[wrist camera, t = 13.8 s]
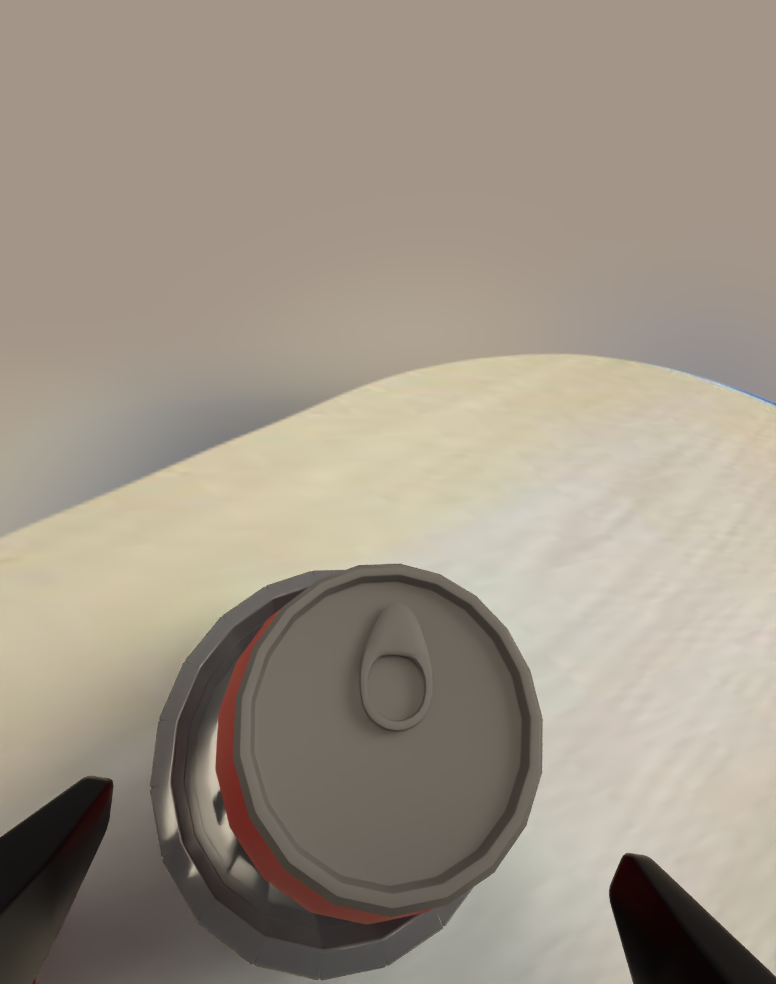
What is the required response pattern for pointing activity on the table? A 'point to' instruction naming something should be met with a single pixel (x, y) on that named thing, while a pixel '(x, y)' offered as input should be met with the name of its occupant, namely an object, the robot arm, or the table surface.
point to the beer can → (379, 744)
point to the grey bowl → (215, 849)
